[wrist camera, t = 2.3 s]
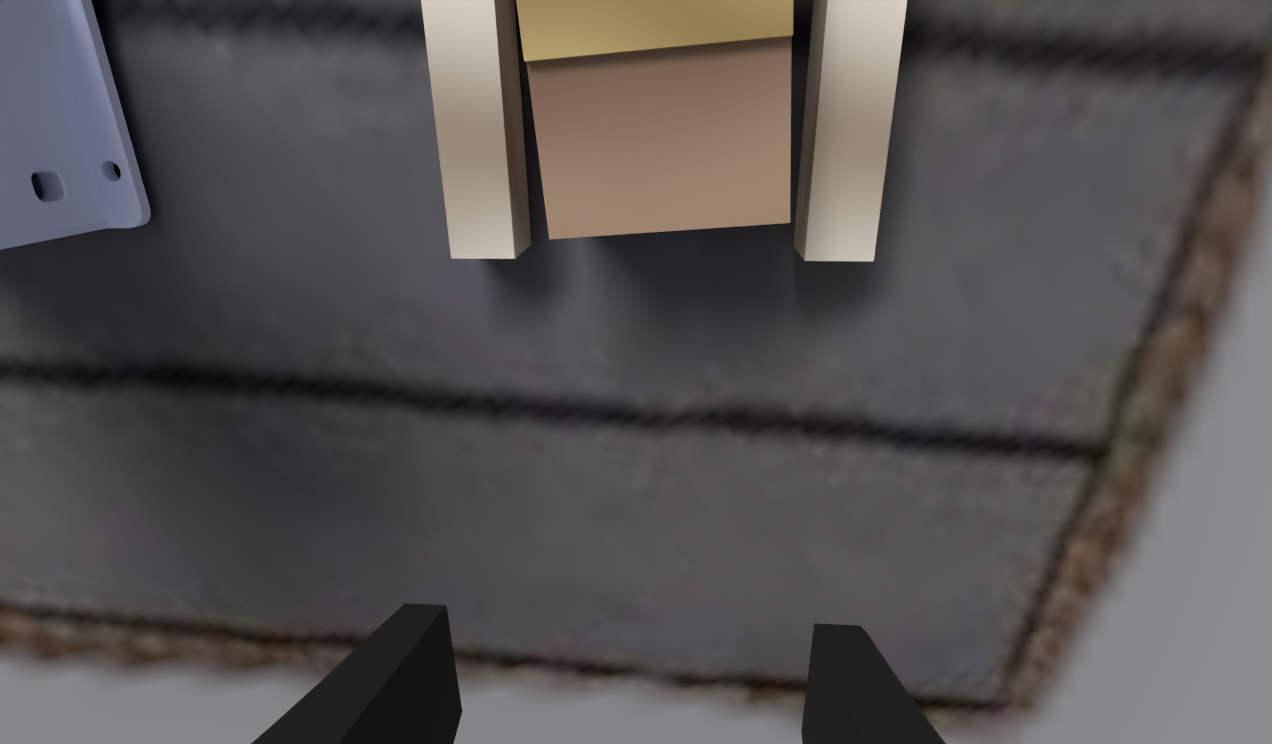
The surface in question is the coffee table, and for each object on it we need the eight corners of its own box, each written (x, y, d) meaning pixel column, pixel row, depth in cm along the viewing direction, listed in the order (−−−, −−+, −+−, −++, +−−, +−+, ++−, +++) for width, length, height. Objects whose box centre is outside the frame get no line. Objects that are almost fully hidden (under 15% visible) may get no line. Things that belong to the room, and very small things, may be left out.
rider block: (767, 199, 17) (791, 224, 13) (579, 212, 17) (547, 240, 13) (765, -182, 14) (796, -296, 10) (538, -152, 14) (483, -250, 11)
